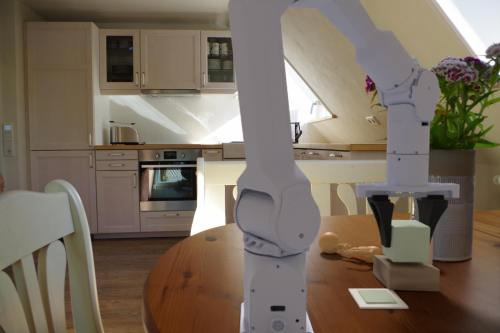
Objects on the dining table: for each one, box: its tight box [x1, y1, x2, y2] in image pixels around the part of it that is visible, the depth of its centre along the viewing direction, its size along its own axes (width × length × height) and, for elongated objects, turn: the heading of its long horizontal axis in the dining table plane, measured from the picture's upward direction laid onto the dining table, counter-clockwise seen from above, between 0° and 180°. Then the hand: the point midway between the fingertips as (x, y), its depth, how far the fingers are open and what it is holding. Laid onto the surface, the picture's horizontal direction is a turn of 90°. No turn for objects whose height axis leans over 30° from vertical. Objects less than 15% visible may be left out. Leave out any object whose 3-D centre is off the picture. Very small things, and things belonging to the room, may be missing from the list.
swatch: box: [348, 288, 409, 310], centre depth 52 cm, size 6×6×1 cm
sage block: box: [381, 219, 430, 262], centre depth 58 cm, size 5×5×5 cm
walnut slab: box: [372, 254, 441, 292], centre depth 58 cm, size 7×7×3 cm
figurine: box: [318, 231, 382, 263], centre depth 70 cm, size 8×6×12 cm
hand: (404, 245), depth 58 cm, fingers closed on sage block, 5 cm apart
